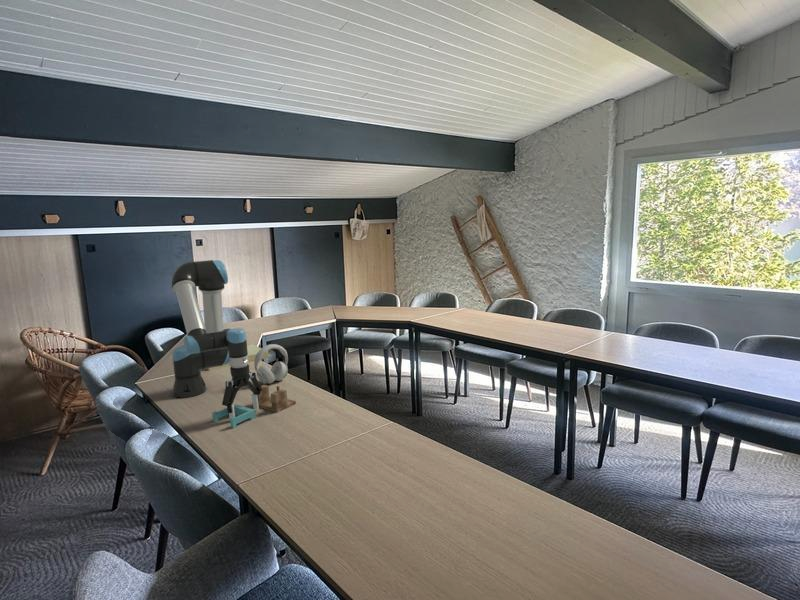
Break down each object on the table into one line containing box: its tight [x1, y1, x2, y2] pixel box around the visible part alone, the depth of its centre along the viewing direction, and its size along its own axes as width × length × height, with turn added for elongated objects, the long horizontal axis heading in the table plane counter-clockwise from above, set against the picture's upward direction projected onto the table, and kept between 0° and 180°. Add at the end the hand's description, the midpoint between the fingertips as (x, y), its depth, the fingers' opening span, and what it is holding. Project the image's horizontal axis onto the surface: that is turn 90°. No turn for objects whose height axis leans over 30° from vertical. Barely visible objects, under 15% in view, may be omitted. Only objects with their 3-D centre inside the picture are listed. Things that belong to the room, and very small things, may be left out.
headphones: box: [253, 343, 289, 385], centre depth 238 cm, size 18×10×20 cm, turn 137°
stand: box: [252, 384, 297, 413], centre depth 209 cm, size 11×15×8 cm
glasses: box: [211, 404, 257, 429], centre depth 195 cm, size 11×13×4 cm
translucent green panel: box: [205, 344, 270, 371], centre depth 282 cm, size 36×5×24 cm
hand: (244, 414), depth 199 cm, fingers open, 12 cm apart
